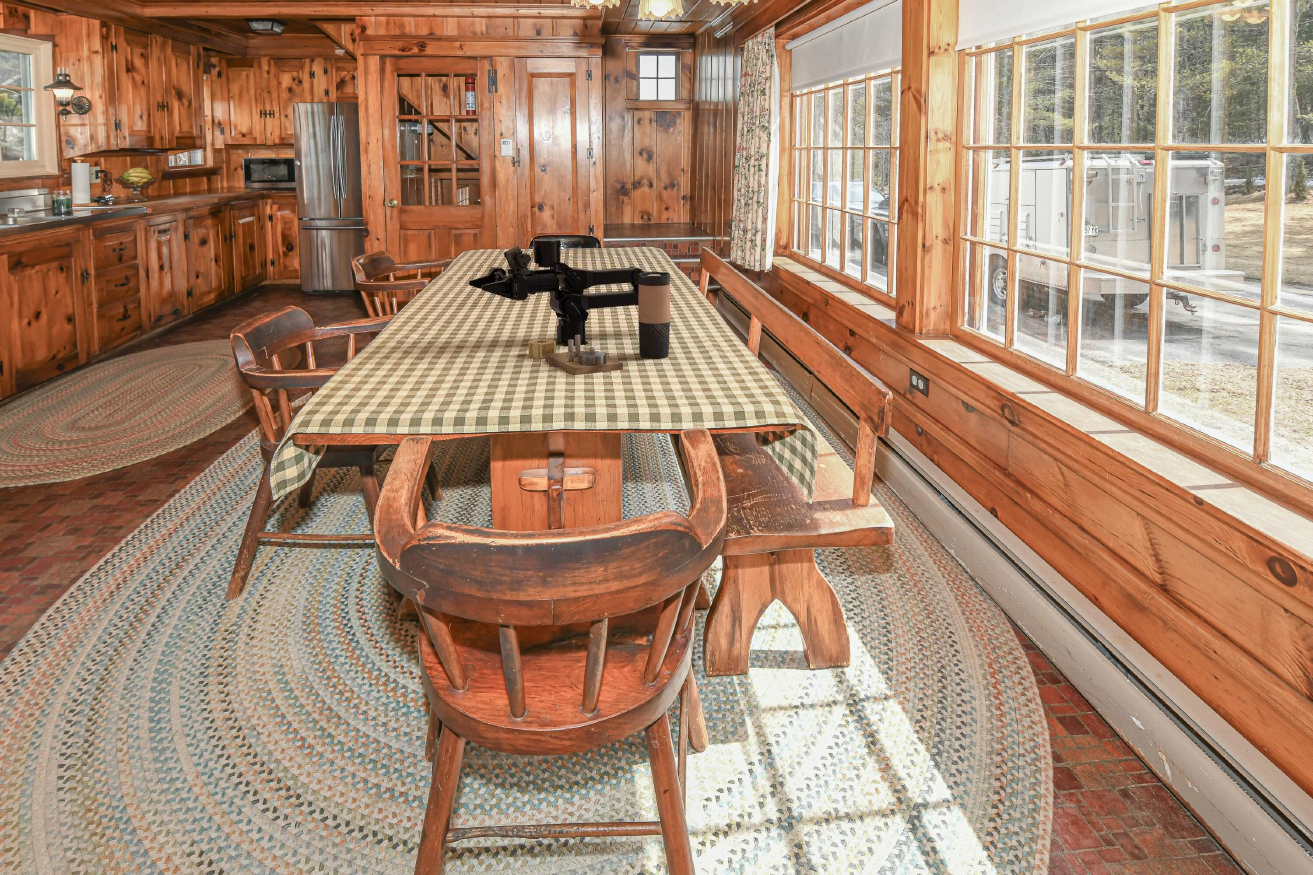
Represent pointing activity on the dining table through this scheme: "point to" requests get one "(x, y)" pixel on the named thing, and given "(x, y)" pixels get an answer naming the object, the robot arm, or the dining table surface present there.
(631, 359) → the dining table surface
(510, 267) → the robot arm
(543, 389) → the dining table surface
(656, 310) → the travel mug
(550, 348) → the brass gear
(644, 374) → the dining table surface
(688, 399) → the dining table surface
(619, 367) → the gear board
